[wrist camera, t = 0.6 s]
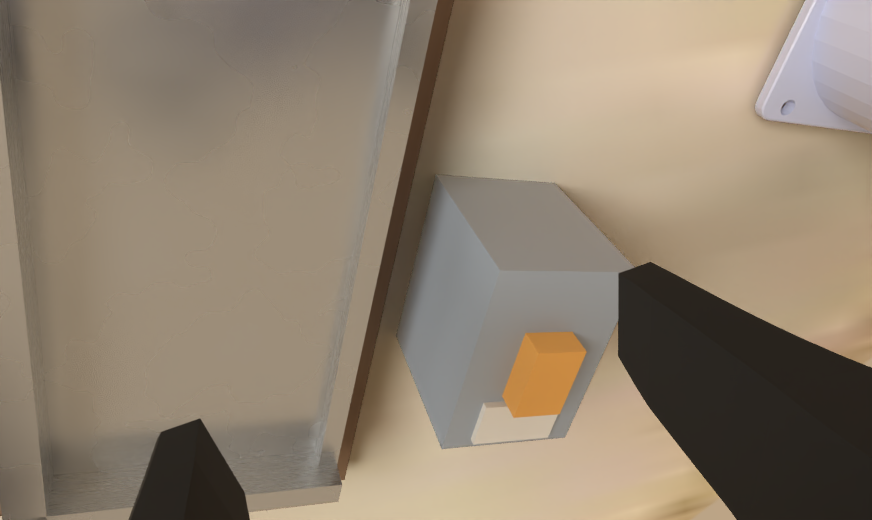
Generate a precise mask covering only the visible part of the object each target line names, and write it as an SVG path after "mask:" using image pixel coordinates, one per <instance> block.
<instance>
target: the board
mask: <svg viewBox="0 0 872 520" xmlns="http://www.w3.org/2000/svg"><path fill="white" fill-rule="evenodd" d="M453 2H454V0H438V1H437V6H436V10H435V15H434V20H433V24H432V29H431V34H430V38H429V43H428V47H427V52H426V57H425V61H424V66H423V70H422V75H421V80H420V84H419V89H418V94H417V98H416V103H415V107H414V112H413V117H412V121H411V126H410V130H409V135H408V140H407V144H406V149H405V154H404V158H403V163H402V167H401V172H400V177H399V181H398V186H397V190H396V195H395V200H394V204H393V209H392V214H391V218H390V223H389V227H388V232H387V237H386V241H385V246H384V250H383V255H382V260H381V264H380V269H379V274H378V278H377V283H376V287H375V292H374V297H373V301H372V306H371V310H370V315H369V320H368V324H367V329H366V334H365V338H364V343H363V347H362V352H361V357H360V361H359V366H358V370H357V375H356V380H355V384H354V389H353V394H352V398H351V403H350V407H349V412H348V417H347V421H346V426H345V430H344V435H343V440H342V444H341V449H340V454H339V458H338V463H337V466H338V470H339V474H340V478H341V480H344V479H345V475H346V470H347V466H348V462H349V457H350V453H351V449H352V444H353V440H354V435H355V431H356V427H357V422H358V418H359V414H360V409H361V405H362V400H363V396H364V392H365V387H366V383H367V379H368V374H369V370H370V365H371V361H372V357H373V352H374V348H375V343H376V339H377V335H378V330H379V326H380V322H381V317H382V313H383V308H384V304H385V300H386V295H387V291H388V287H389V282H390V278H391V273H392V269H393V265H394V260H395V256H396V252H397V247H398V243H399V238H400V234H401V230H402V225H403V221H404V217H405V212H406V208H407V203H408V199H409V195H410V190H411V186H412V181H413V177H414V173H415V168H416V164H417V160H418V155H419V151H420V146H421V142H422V138H423V133H424V129H425V125H426V120H427V116H428V111H429V107H430V103H431V98H432V94H433V90H434V85H435V81H436V76H437V72H438V68H439V63H440V59H441V55H442V50H443V46H444V41H445V37H446V33H447V28H448V24H449V19H450V15H451V11H452V6H453ZM0 516H2V513H1V507H0Z"/></svg>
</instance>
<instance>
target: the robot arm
mask: <svg viewBox="0 0 872 520" xmlns="http://www.w3.org/2000/svg"><path fill="white" fill-rule="evenodd" d="M785 102H786V103H785ZM784 103H785V105H784V106H783V104H784ZM782 106H783V108H782ZM755 112H756V113H757V115H758V116H760V117H762V118H764V119H766V120H769V121H777V122H784V123H792V124H800V125H808V126H815V127H823V128H831V129H838V130H846V131H854V132H861V133H869V134H872V0H805V2H804V4H803V6H802V8H801V10H800V12H799V14H798V16H797V18H796V20H795V22H794V24H793V27H792V29H791V31H790V33H789V35H788V37H787V39H786V41H785V43H784V45H783V47H782V49H781V51H780V53H779V55H778V58H777V60H776V62H775V64H774V66H773V68H772V70H771V72H770V74H769V76H768V78H767V80H766V82H765V84H764V87H763V89H762V91H761V93H760V95H759V97H758V99H757V102H756V105H755ZM618 356H619V358H620V360H621V362H622V363H623V365H624V367H625V369H626V370H627V372H628V374H629V375H630V377H631V379H632V381H633V382H634V384H635V386H636V387H637V389H638V390H639V392H640V394H641V395H642V397H643V398H644V400H645V402H646V403H647V405H648V406H649V408H650V409H651V410H652V412H653V413H654V414H655V415H656V417H657V418H658V419H659V421H660V422H661V423H662V424H663V426H664V427H665V428H666V430H667V431H668V432H669V433H670V435H671V436H672V437H673V439H674V440H675V441H676V442H677V444H678V445H679V446H680V448H681V449H682V450H683V451H684V453H685V454H686V455H687V456H688V458H689V459H690V460H691V461H692V463H693V464H694V465H695V467H696V468H697V469H698V470H699V472H700V473H701V474H702V475H703V477H704V478H705V479H706V480H707V482H708V483H709V484H710V485H711V487H712V488H713V489H714V491H715V492H716V493H717V494H718V496H719V497H720V498H721V499H722V501H723V502H724V503H725V504H726V506H727V507H728V508H729V510H730V511H731V512H732V514H733V515H734V517H735V518H736V519H737V520H872V368H871V367H868V366H866V365H863V364H861V363H858V362H856V361H853V360H851V359H848V358H846V357H843V356H841V355H839V354H836V353H834V352H832V351H829V350H827V349H825V348H823V347H820V346H818V345H816V344H813V343H811V342H809V341H807V340H804V339H802V338H800V337H798V336H795V335H793V334H791V333H789V332H787V331H785V330H783V329H780V328H778V327H776V326H774V325H772V324H770V323H768V322H766V321H764V320H762V319H760V318H758V317H756V316H754V315H752V314H750V313H748V312H746V311H744V310H742V309H740V308H738V307H736V306H734V305H732V304H730V303H728V302H726V301H724V300H722V299H720V298H718V297H717V296H715V295H713V294H711V293H709V292H707V291H705V290H703V289H701V288H699V287H698V286H696V285H694V284H692V283H690V282H688V281H686V280H684V279H682V278H681V277H679V276H677V275H675V274H673V273H671V272H669V271H667V270H665V269H663V268H661V267H659V266H657V265H655V264H653V263H651V262H649V263H646V264H644V265H641V266H638V267H635V268H632V269H629V270H626V271H623V272H620V273H618ZM128 520H250V518H249V513H248V507H247V502H246V496H245V492H244V491H243V489H242V487H241V486H240V484H239V482H238V481H237V479H236V477H235V476H234V474H233V472H232V470H231V469H230V467H229V465H228V464H227V462H226V460H225V459H224V457H223V455H222V454H221V452H220V450H219V449H218V447H217V445H216V444H215V442H214V440H213V439H212V437H211V435H210V434H209V432H208V430H207V429H206V427H205V425H204V424H203V422H202V420H201V419H200V418H199V419H197V420H194V421H191V422H188V423H185V424H182V425H179V426H176V427H173V428H171V429H168V430H165V431H162V432H161V433H160V435H159V437H158V438H157V441H156V444H155V446H154V449H153V452H152V455H151V458H150V461H149V464H148V467H147V470H146V473H145V475H144V478H143V481H142V484H141V487H140V490H139V492H138V495H137V498H136V500H135V503H134V506H133V508H132V511H131V514H130V517H129V519H128Z"/></svg>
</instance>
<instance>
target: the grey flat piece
mask: <svg viewBox="0 0 872 520" xmlns="http://www.w3.org/2000/svg"><path fill="white" fill-rule="evenodd" d="M437 1H438V0H0V507H1V513H2V519H3V520H128V519H129V517H130V514H131V511H132V508H133V506H134V503H135V500H136V498H137V495H138V492H139V490H140V487H141V484H142V481H143V478H144V475H145V473H146V470H147V467H148V464H149V461H150V458H151V455H152V452H153V449H154V446H155V444H156V441H157V438H158V437H159V435H160V433H161V432H162V431H165V430H168V429H171V428H173V427H176V426H179V425H182V424H185V423H188V422H191V421H194V420H197V419H199V418H200V419H201V420H202V422H203V424H204V425H205V427H206V429H207V430H208V432H209V434H210V435H211V437H212V439H213V440H214V442H215V444H216V445H217V447H218V449H219V450H220V452H221V454H222V455H223V457H224V459H225V460H226V462H227V464H228V465H229V467H230V469H231V470H232V472H233V474H234V476H235V477H236V479H237V481H238V482H239V484H240V486H241V487H242V489H243V491H244V492H245V496H246V502H247V507H248V512H254V511H263V510H271V509H280V508H288V507H297V506H305V505H314V504H322V503H331V502H338V500H339V496H340V492H341V487H342V482H341V478H340V474H339V470H338V466H337V463H338V458H339V454H340V449H341V444H342V440H343V435H344V430H345V426H346V421H347V417H348V412H349V407H350V403H351V398H352V394H353V389H354V384H355V380H356V375H357V370H358V366H359V361H360V357H361V352H362V347H363V343H364V338H365V334H366V329H367V324H368V320H369V315H370V310H371V306H372V301H373V297H374V292H375V287H376V283H377V278H378V274H379V269H380V264H381V260H382V255H383V250H384V246H385V241H386V237H387V232H388V227H389V223H390V218H391V214H392V209H393V204H394V200H395V195H396V190H397V186H398V181H399V177H400V172H401V167H402V163H403V158H404V154H405V149H406V144H407V140H408V135H409V130H410V126H411V121H412V117H413V112H414V107H415V103H416V98H417V94H418V89H419V84H420V80H421V75H422V70H423V66H424V61H425V57H426V52H427V47H428V43H429V38H430V34H431V29H432V24H433V20H434V15H435V10H436V6H437Z"/></svg>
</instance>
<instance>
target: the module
mask: <svg viewBox="0 0 872 520" xmlns="http://www.w3.org/2000/svg"><path fill="white" fill-rule="evenodd" d="M632 268H635V267H634V266H633V265H632V264H631V263H630V262H629V261H628V260H627V259H626V257H625V256H624V255H623V254H622V253H621V252H620V251H619V250H618V249H617V248H616V247H615V246H614V245H613V244H612V243H611V242H610V241H609V240H608V239H607V238H606V236H605V235H604V234H603V233H602V232H601V231H600V230H599V229H598V228H597V227H596V226H595V225H594V224H593V223H592V222H591V221H590V220H589V219H588V218H587V216H586V215H585V214H584V213H583V212H582V211H581V210H580V209H579V208H578V207H577V206H576V205H575V204H574V203H573V202H572V201H571V200H570V199H569V198H568V197H567V195H566V194H565V193H564V192H563V191H562V190H561V189H560V188H559V187H558V186H557V185H556V184H555V183H546V182H532V181H518V180H504V179H490V178H476V177H462V176H448V175H436V176H435V180H434V184H433V188H432V192H431V196H430V200H429V204H428V208H427V212H426V216H425V220H424V225H423V229H422V233H421V237H420V241H419V245H418V249H417V253H416V257H415V261H414V265H413V269H412V273H411V277H410V281H409V285H408V289H407V293H406V298H405V302H404V306H403V310H402V314H401V318H400V322H399V326H398V330H397V334H396V337H397V339H398V342H399V344H400V347H401V349H402V352H403V354H404V357H405V359H406V362H407V364H408V367H409V369H410V372H411V374H412V376H413V379H414V381H415V384H416V386H417V389H418V391H419V394H420V396H421V399H422V401H423V404H424V406H425V409H426V411H427V414H428V416H429V418H430V421H431V423H432V426H433V428H434V431H435V433H436V436H437V438H438V441H439V443H440V446H441V448H442V449H447V448H458V447H469V446H479V445H490V444H501V443H511V442H522V441H533V440H543V439H554V438H565V436H566V434H567V432H568V430H569V427H570V425H571V423H572V421H573V419H574V416H575V414H576V412H577V410H578V408H579V405H580V403H581V401H582V399H583V397H584V394H585V392H586V390H587V388H588V386H589V383H590V381H591V379H592V377H593V375H594V372H595V370H596V368H597V366H598V364H599V361H600V359H601V357H602V355H603V352H604V350H605V348H606V346H607V344H608V341H609V339H610V337H611V335H612V333H613V330H614V328H615V326H616V324H617V322H618V273H620V272H623V271H626V270H629V269H632Z"/></svg>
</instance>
